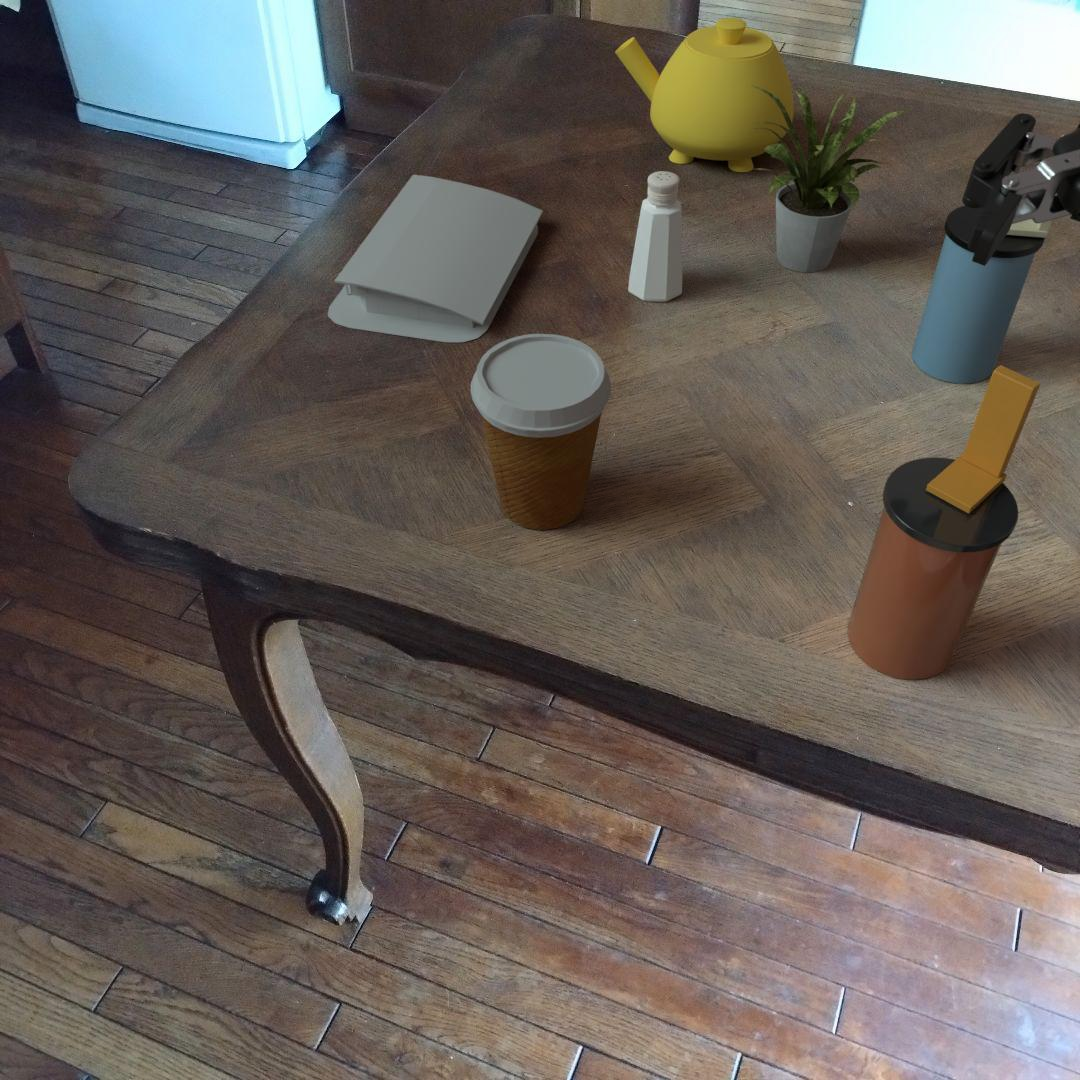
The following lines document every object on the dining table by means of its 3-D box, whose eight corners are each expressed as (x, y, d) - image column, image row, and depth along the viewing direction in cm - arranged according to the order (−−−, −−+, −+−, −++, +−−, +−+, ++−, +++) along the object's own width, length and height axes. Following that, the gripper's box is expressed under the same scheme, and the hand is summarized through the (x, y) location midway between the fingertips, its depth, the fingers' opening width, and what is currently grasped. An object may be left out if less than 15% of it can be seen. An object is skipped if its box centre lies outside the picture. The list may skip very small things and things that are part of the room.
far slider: (1041, 220, 83) (1072, 133, 78) (1047, 238, 81) (1079, 151, 76) (987, 216, 83) (1014, 130, 78) (991, 233, 81) (1019, 147, 76)
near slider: (962, 457, 63) (997, 362, 58) (1005, 480, 62) (1044, 384, 57) (925, 490, 61) (957, 394, 56) (968, 514, 60) (1006, 418, 55)
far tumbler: (991, 339, 93) (1038, 206, 84) (1002, 390, 88) (1053, 254, 79) (905, 331, 94) (942, 199, 85) (910, 381, 89) (951, 246, 80)
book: (317, 323, 96) (310, 285, 93) (405, 202, 112) (401, 167, 109) (479, 347, 93) (476, 309, 90) (545, 220, 109) (545, 184, 106)
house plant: (690, 267, 102) (707, 98, 90) (754, 208, 110) (777, 45, 98) (828, 313, 96) (866, 139, 85) (885, 247, 104) (927, 79, 93)
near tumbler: (883, 580, 73) (929, 439, 64) (980, 639, 70) (1043, 498, 61) (820, 638, 70) (859, 497, 61) (918, 703, 66) (976, 565, 57)
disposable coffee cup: (457, 526, 78) (445, 395, 69) (509, 447, 84) (503, 318, 75) (579, 560, 75) (582, 429, 66) (623, 476, 81) (631, 346, 73)
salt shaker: (640, 266, 102) (648, 157, 94) (693, 280, 100) (704, 170, 93) (616, 294, 99) (622, 183, 91) (670, 309, 97) (680, 197, 89)
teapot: (593, 164, 117) (597, 35, 108) (630, 107, 128) (636, -15, 118) (774, 190, 113) (794, 58, 103) (797, 129, 123) (817, 3, 113)
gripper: (1066, 15, 60) (949, 172, 53) (1340, 91, 55) (1250, 275, 48) (1023, 132, 66) (913, 286, 59) (1265, 209, 61) (1176, 388, 54)
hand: (1064, 281), depth 53 cm, fingers open, 8 cm apart
